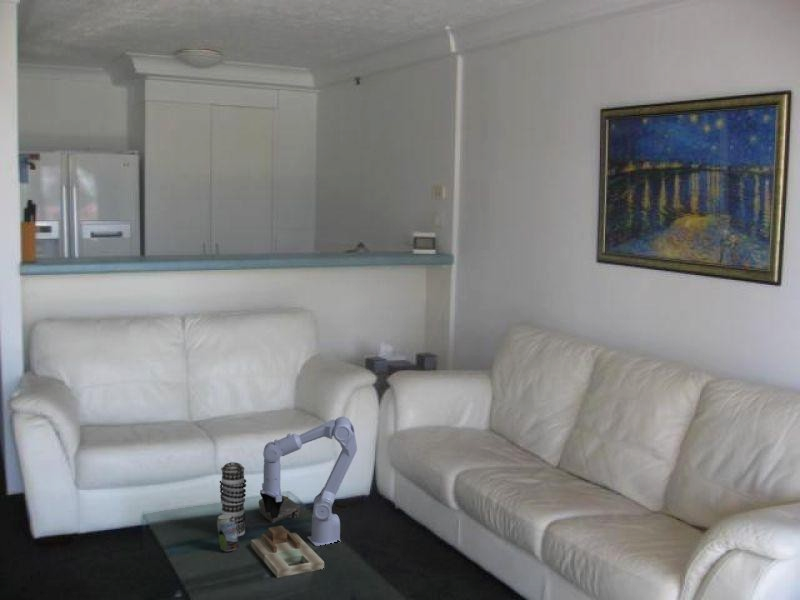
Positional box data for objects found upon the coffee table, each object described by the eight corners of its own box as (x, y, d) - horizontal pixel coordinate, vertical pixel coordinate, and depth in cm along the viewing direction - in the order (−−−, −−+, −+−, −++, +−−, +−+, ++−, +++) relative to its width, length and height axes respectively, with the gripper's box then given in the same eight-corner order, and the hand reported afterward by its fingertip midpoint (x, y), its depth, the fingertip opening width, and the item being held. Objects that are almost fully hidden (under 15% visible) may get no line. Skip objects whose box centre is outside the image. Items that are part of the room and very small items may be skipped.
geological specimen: (273, 511, 349) (256, 496, 361) (273, 527, 350) (256, 511, 363) (300, 505, 355) (282, 490, 367) (300, 521, 356) (282, 505, 368)
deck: (295, 539, 337) (295, 527, 337) (324, 568, 315) (324, 556, 314) (251, 546, 330) (251, 534, 329) (277, 577, 307) (277, 564, 307)
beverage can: (234, 554, 324) (234, 520, 322) (213, 551, 325) (213, 518, 323) (241, 546, 330) (241, 513, 328) (220, 544, 331) (220, 511, 329)
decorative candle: (243, 538, 337) (243, 469, 333) (217, 537, 337) (217, 468, 333) (248, 527, 346) (248, 460, 342) (222, 527, 346) (222, 459, 342)
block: (281, 536, 333) (281, 525, 332) (287, 542, 329) (287, 530, 328) (268, 539, 331) (268, 527, 330) (273, 544, 326) (273, 533, 326)
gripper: (253, 472, 336) (253, 509, 338) (268, 485, 324) (267, 524, 326) (273, 469, 339) (272, 506, 342) (287, 482, 327) (287, 520, 329)
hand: (271, 514), depth 334 cm, fingers open, 5 cm apart
